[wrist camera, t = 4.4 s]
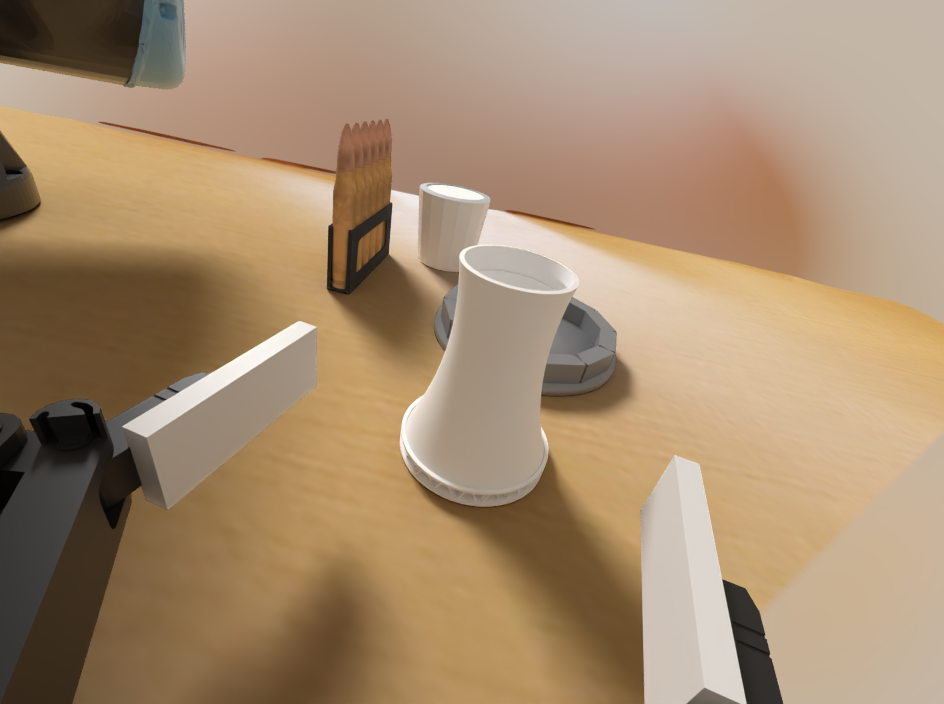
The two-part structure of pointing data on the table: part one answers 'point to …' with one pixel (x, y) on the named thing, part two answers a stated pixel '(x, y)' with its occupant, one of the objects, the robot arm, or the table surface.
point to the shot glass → (448, 223)
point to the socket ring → (561, 348)
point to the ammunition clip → (360, 205)
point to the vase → (490, 380)
